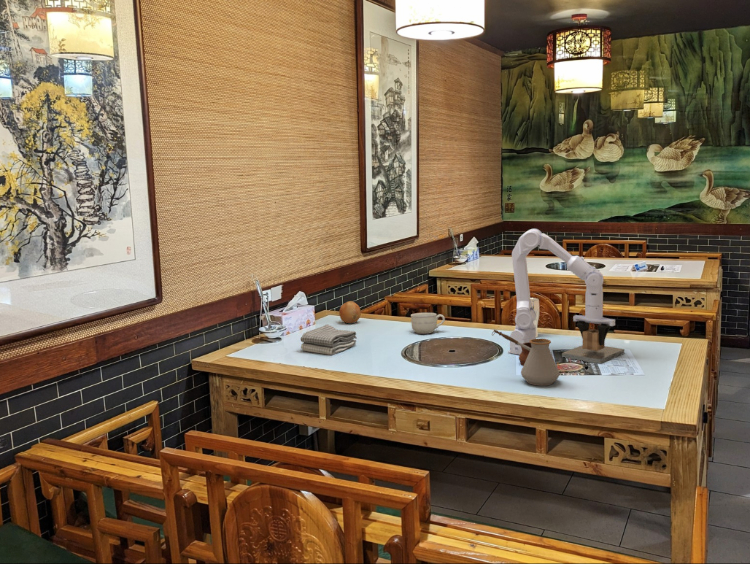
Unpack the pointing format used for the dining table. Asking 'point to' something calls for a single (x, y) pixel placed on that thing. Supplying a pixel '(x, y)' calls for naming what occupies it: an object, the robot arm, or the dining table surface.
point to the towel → (327, 340)
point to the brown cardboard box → (591, 340)
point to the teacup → (425, 322)
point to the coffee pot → (537, 362)
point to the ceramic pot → (525, 354)
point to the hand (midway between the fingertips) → (593, 343)
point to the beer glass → (536, 308)
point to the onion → (349, 312)
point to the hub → (593, 354)
